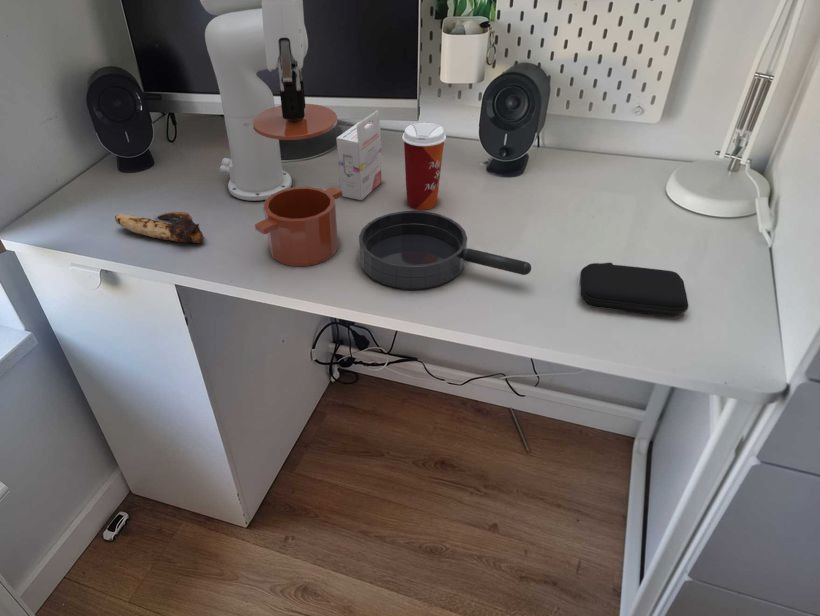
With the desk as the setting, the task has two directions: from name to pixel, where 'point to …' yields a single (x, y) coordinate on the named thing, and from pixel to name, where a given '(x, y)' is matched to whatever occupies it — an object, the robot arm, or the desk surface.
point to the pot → (301, 225)
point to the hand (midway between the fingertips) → (294, 112)
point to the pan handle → (496, 261)
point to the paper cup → (423, 163)
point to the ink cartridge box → (360, 158)
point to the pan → (412, 249)
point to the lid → (295, 123)
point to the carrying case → (633, 289)
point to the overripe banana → (164, 227)
